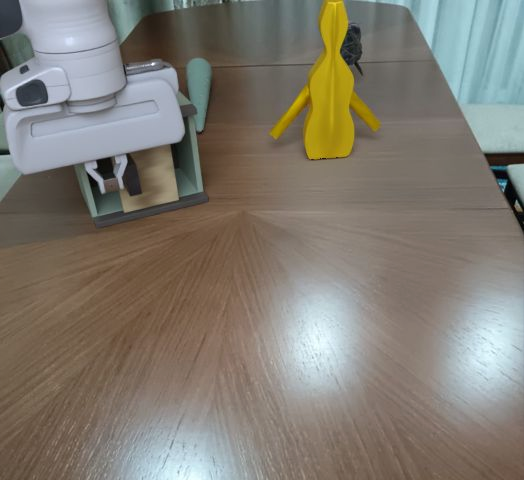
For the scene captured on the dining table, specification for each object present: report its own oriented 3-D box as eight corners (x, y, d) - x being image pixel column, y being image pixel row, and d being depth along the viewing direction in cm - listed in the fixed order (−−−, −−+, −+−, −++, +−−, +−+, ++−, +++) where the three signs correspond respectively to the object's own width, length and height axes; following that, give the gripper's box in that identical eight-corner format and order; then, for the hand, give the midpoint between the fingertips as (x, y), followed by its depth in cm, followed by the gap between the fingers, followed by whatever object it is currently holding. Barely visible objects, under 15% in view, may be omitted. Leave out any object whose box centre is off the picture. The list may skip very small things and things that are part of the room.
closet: (96, 228, 77) (70, 132, 69) (81, 192, 86) (56, 103, 77) (208, 201, 81) (196, 108, 73) (183, 169, 90) (170, 82, 81)
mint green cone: (180, 103, 96) (183, 58, 116) (184, 136, 100) (187, 87, 120) (212, 101, 97) (210, 56, 116) (215, 133, 100) (213, 85, 120)
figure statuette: (376, 140, 94) (389, -16, 80) (387, 160, 89) (404, -4, 74) (268, 149, 94) (262, -6, 79) (273, 169, 88) (267, 6, 73)
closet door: (131, 226, 75) (112, 143, 68) (123, 210, 79) (104, 130, 71) (187, 212, 77) (175, 130, 70) (177, 197, 81) (164, 118, 73)
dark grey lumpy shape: (363, 96, 111) (371, -27, 97) (305, 96, 112) (305, -24, 99) (363, 82, 117) (370, -35, 103) (307, 83, 118) (307, -32, 105)
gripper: (166, 49, 67) (184, 162, 76) (-16, 80, 62) (27, 198, 71) (182, 62, 63) (198, 181, 72) (-13, 96, 58) (32, 220, 67)
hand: (112, 189), depth 71 cm, fingers closed
